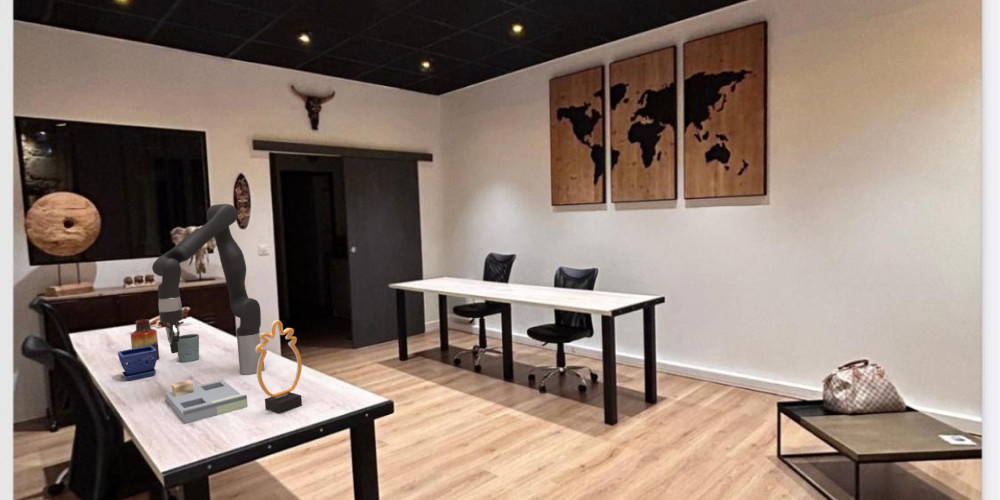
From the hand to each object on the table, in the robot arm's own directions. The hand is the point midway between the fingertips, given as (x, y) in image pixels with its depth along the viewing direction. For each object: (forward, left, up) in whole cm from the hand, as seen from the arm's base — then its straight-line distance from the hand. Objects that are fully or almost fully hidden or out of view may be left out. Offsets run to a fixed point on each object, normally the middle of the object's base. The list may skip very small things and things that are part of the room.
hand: (174, 352), depth 204 cm
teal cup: (-15, -55, -17) cm, 59 cm away
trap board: (-5, +20, -17) cm, 27 cm away
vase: (0, -72, -17) cm, 74 cm away
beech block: (0, +9, -14) cm, 17 cm away
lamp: (-24, +47, -17) cm, 56 cm away
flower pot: (+7, -43, -17) cm, 47 cm away
